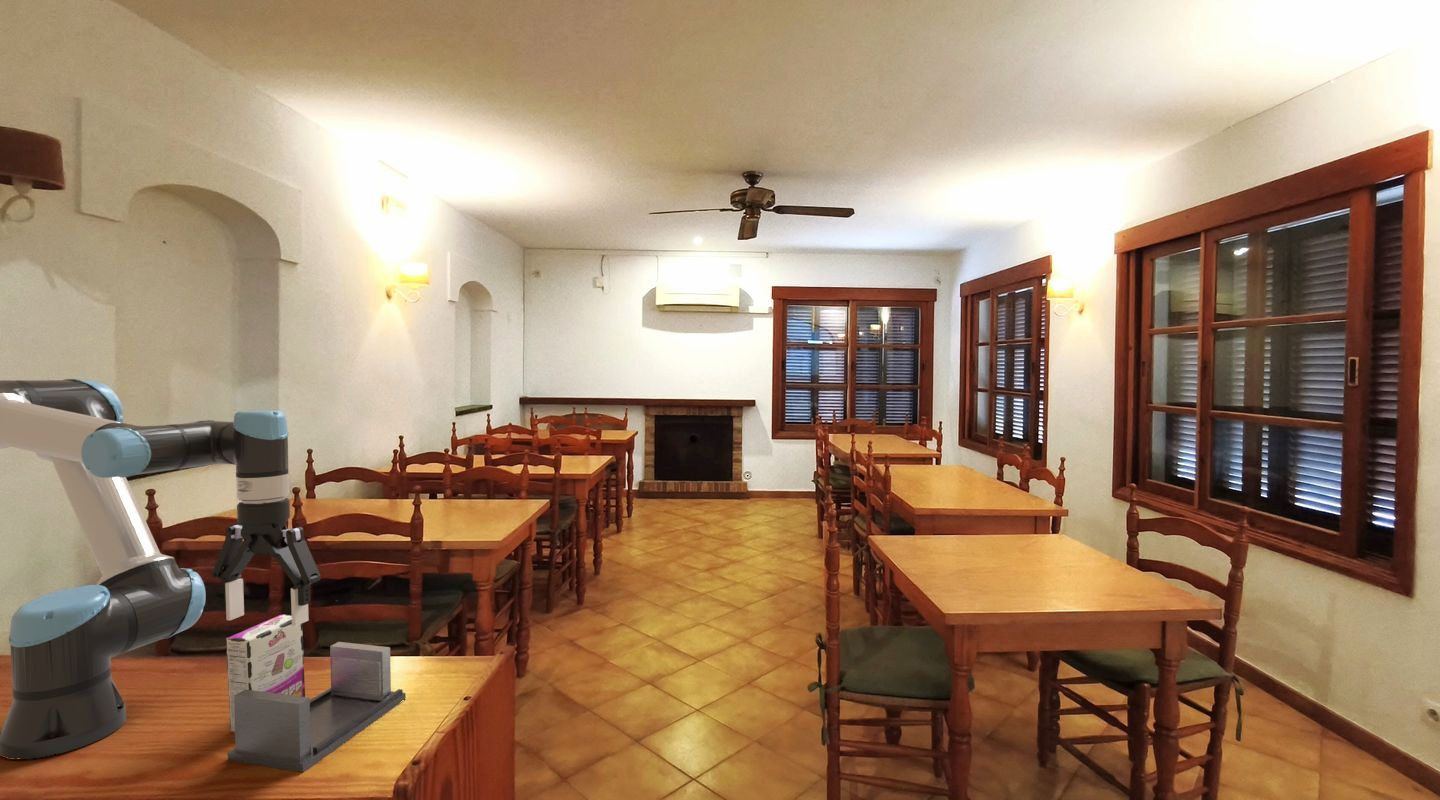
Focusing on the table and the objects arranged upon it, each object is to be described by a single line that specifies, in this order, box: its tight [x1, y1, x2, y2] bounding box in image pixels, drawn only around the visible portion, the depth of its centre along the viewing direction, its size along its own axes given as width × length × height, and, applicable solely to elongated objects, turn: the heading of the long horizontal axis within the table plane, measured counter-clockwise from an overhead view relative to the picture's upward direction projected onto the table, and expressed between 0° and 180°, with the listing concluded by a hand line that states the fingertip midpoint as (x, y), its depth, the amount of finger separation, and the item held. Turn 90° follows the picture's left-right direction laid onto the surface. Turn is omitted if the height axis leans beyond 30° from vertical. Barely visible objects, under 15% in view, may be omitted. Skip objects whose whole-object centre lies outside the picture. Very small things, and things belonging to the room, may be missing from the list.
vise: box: [226, 687, 406, 773], centre depth 113 cm, size 14×23×10 cm, turn 168°
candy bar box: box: [225, 614, 306, 734], centre depth 116 cm, size 11×5×16 cm, turn 168°
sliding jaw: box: [329, 641, 392, 701], centre depth 124 cm, size 11×8×9 cm
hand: (267, 620), depth 115 cm, fingers open, 13 cm apart
